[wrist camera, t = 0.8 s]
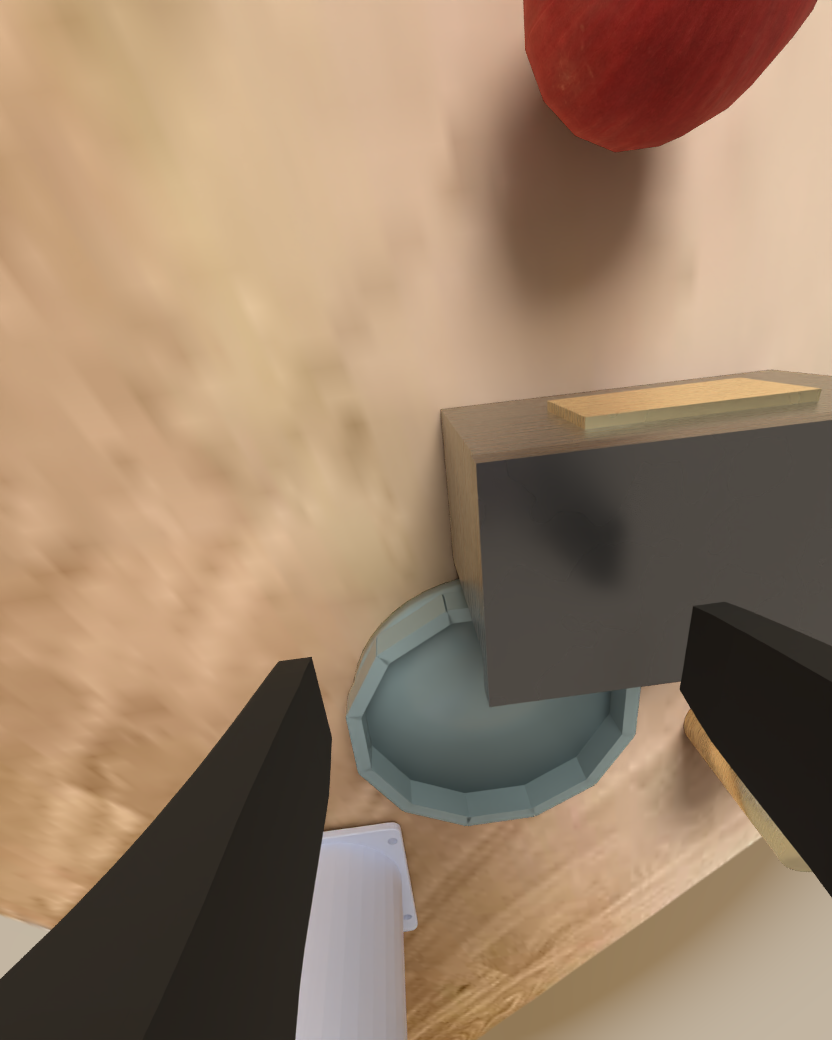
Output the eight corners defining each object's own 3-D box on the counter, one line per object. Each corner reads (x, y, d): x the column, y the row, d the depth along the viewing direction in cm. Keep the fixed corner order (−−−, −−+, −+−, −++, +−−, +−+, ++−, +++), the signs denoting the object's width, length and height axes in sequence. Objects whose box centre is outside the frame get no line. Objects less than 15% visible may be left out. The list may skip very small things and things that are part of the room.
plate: (606, 762, 24) (627, 803, 22) (373, 795, 23) (373, 839, 21) (623, 556, 19) (652, 583, 17) (331, 594, 19) (325, 626, 17)
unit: (746, 526, 19) (963, 643, 12) (448, 564, 18) (489, 707, 11) (779, 360, 16) (1079, 384, 9) (434, 401, 16) (475, 458, 9)
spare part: (753, 740, 24) (865, 863, 18) (679, 750, 24) (769, 878, 18) (769, 681, 22) (896, 797, 17) (689, 692, 22) (790, 812, 17)
